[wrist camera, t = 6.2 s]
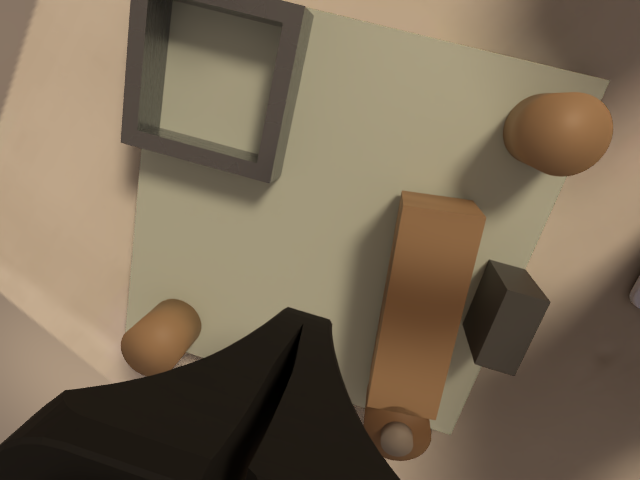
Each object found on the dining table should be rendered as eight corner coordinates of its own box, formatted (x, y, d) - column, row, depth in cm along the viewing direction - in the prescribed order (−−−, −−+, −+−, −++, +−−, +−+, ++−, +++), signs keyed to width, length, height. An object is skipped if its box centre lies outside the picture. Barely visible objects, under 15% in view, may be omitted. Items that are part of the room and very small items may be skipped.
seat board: (593, 82, 15) (660, 76, 11) (447, 416, 20) (459, 488, 17) (173, -20, 16) (107, -56, 12) (139, 321, 22) (85, 368, 18)
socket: (313, 15, 15) (304, 6, 13) (280, 175, 17) (269, 183, 15) (158, -22, 15) (133, -36, 14) (144, 138, 17) (120, 142, 16)
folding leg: (420, 423, 19) (425, 477, 16) (362, 411, 19) (357, 462, 16) (472, 200, 16) (489, 221, 13) (401, 190, 16) (403, 209, 13)
